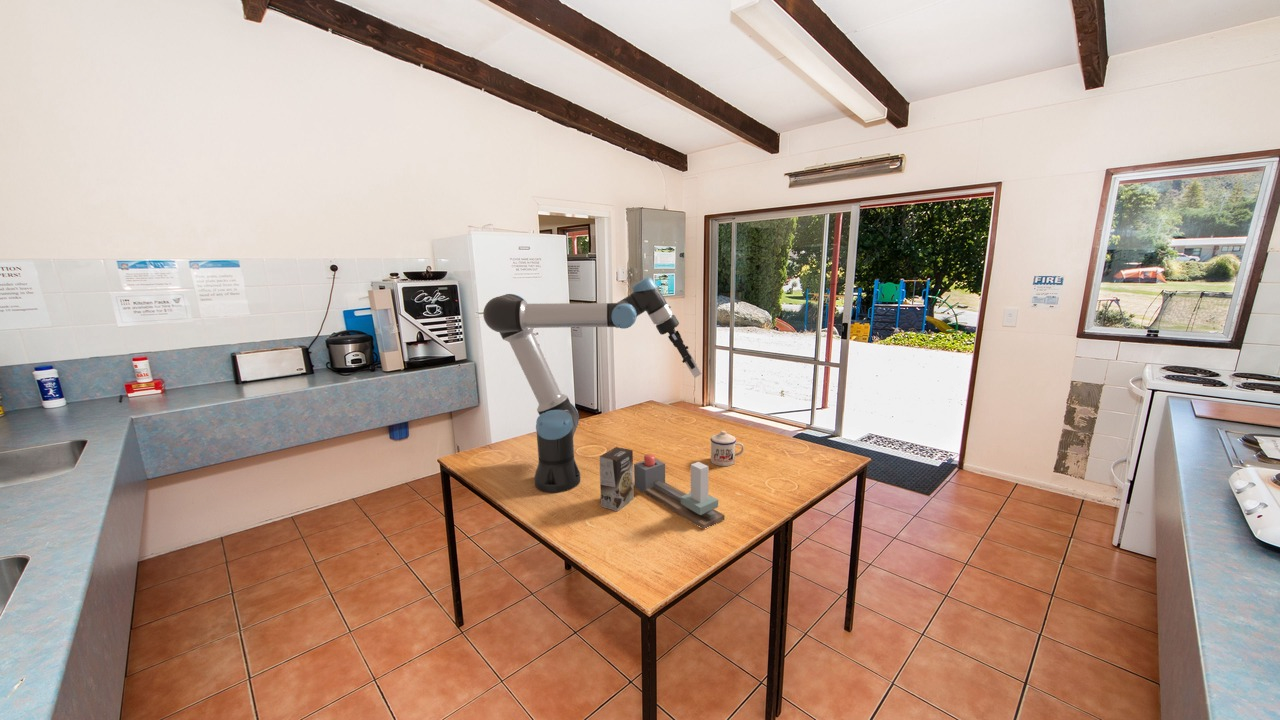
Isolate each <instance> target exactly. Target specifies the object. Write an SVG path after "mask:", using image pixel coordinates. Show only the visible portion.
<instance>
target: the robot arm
mask: <svg viewBox="0 0 1280 720" xmlns="http://www.w3.org/2000/svg"><path fill="white" fill-rule="evenodd" d="M671 308H672V305H670V304H668V302H667V300H666V299H665V297H664V296H663V294H662V292H661V291H660V288H659V287H658V286H657V284H656V282H655V281H654V280H653V278H652V277H651V276H646V277H644V278H643V279H641V280H639V281H638V282H637V283H635V284H634V285H633V286H632V293H631V294H629V295H628V296H626V297H624V298H623V299H621V300H620V301H617V302H611V303H607V302H606V303H605V302H603V303H601V302H598V303H597V302H596V303H595V302H591V303H589V302H588V303H587V302H586V303H584V302H583V303H582V302H581V303H578V302H577V303H575V302H574V303H573V302H572V303H528V302H527V301H526V300H525V299H524V298H523V297H522V296H520V295H517V294H512V293H506V294H503V295H499V296H496V297H492V299H491V298H490V299H489V301H488V302H487V303H486V304H485V306H484V308H483V321H484V323H485V324H486V325H487V326H488V328H489V329H490V330H492V331H494V332H497V333H499V335H500V336H501V338H502V340H503V341H505V342H508V343H509V344H510V347H511V349H512V350H513V351H512V352H513V353H514V355H515V357H516V359H517V362H518V363H519V365H520V368H521V370H522V372H523V374H524V376H525V379H526V380H527V382H528V384H529V387H530V388H531V390H532V392H533V395H534V396H535V400H536V401H537V404H538V406H537V408H536V411H537V413H538V416H537V417H536V418H537V419H536V424H535V431H536V440H537V457H538V464H537V467H536V470H535V474H534V486H535V488H536V489H537V490H539V491H542V492H545V493H561V492H566V491H569V490H572V489H574V488H575V487H577V486H579V484H580V483H581V472H580V470H579V467H578V465H577V463H576V460H575V451H574V450H575V448H574V447H575V445H574V437H575V433H576V430H577V428H578V425H579V422H580V419H579V418H580V417H579V412H578V410H577V408H576V406H574V404H572V403H571V401H570V399H569V397H568V395H566V394H563V393H562V392H561V389H560V388H559V386H558V384H557V382H556V381H557V380H556V379H555V376H554V375H553V373H552V371H551V368H550V366H549V364H548V362H547V360H546V358H545V356H544V353H543V351H542V349H541V347H540V345H539V343H538V341H537V338H536V336H535V334H534V332H533V331H534V329H540V328H542V329H543V328H544V329H545V328H547V329H548V328H555V329H556V328H560V329H561V328H616V329H618V328H619V329H629V328H631V327H632V326H633V325H634V324H635V323H636V320H637V317H639V316H640V315H642V314H643V313H644V312H646V313H647V315H648V317H649V318H650V320H651V322H652V323H653V325H655V327H656V329H657V332H658V333H659V334H660V335H665V334H667V333H668V336H667V337H668V339H669V341H670V342H671V343H672V344H673V346H674V347H675V348H676V349H677V351H678V353H679V355H680V356H681V358H682V360H681V362H682V363H683V364H684V363H685V365H686V366H687V368H688V369H689V371H690V373H691V375H692V376H693V377H694V379H696V378H697V377H699V376H701V375H702V372H701V370H700V369H699V367H698V365H697V363H696V361H695V359H694V357H693V356H692V354H691V353H690V351H689V346H688V345H686V344H684V340H683V338H682V335H681V333H680V331H679V330H676V328H677V327H678V326H679V324H680V322H679V320H678V319H677V317H676V315H675V314H673V311H672V309H671Z"/></svg>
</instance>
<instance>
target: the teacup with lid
mask: <svg viewBox="0 0 1280 720" xmlns="http://www.w3.org/2000/svg"><path fill="white" fill-rule="evenodd" d="M736 446H740V447H741V450H740V451H739V452H738V453H737V452H736ZM744 451H745V447H744V444H743V443H741V442H737V438H736V437H735V436H734V435H732V434H729V433H727V431H726V430H720V432H719V433H716V434H713V435H712V436H711V437H710V461H711V463H712V464H713V465H716V466H720V467H728V466H729V467H730V466H733V465H734V464H735V462H736V457H740V456H742V454H743V453H744Z"/></svg>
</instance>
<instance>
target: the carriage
mask: <svg viewBox="0 0 1280 720" xmlns="http://www.w3.org/2000/svg"><path fill="white" fill-rule="evenodd" d="M709 469H710V468H709V465H706V464H704V463H702V462H700V461H696V462H694V463H691V464H690V492H688V493H685V494H686V495H684V496H681V504H682V505H684V506H685V507H687V508H689V509H691V510H692V511H694V512H696V513H697V514H699V515H702V514H704V513H706V512H708V511H711V510H713V509H714V510H716V509H717V508H719V499H718V498H716V497H714V496H711V495H710V494H709V473H710V472H709Z"/></svg>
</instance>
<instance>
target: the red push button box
mask: <svg viewBox="0 0 1280 720" xmlns="http://www.w3.org/2000/svg"><path fill="white" fill-rule="evenodd" d="M658 481H660V482H661V483H665V482H666V463H665V462H663V461H661V460H659V459H657V458H655V465H654V466H652V467H649V468H648V467H647V466H645V465H644V460H643V461H639V462H637V463H633V484H634V488H635V489H637V490H639V491H641V492H642V493H644V494H645V495H647V494H646V489H649V488H651V487H654V483H655V482H658Z"/></svg>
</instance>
